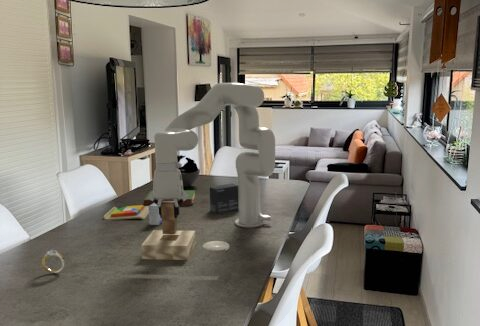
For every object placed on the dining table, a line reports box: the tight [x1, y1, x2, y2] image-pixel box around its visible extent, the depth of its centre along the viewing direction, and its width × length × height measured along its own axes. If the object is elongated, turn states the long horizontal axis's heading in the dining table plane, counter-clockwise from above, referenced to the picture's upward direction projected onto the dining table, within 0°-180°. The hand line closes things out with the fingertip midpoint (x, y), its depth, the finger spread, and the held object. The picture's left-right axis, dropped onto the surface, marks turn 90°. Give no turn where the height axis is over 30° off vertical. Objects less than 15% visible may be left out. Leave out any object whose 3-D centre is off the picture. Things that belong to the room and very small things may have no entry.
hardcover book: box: [143, 189, 196, 207], centre depth 234 cm, size 25×19×4 cm
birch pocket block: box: [140, 229, 197, 261], centre depth 161 cm, size 16×16×6 cm
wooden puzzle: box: [103, 204, 149, 221], centre depth 211 cm, size 18×19×4 cm
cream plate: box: [202, 240, 230, 252], centre depth 166 cm, size 10×10×1 cm
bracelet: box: [41, 249, 66, 274], centre depth 145 cm, size 7×3×8 cm, turn 86°
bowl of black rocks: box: [177, 154, 201, 188], centre depth 264 cm, size 20×20×19 cm
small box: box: [209, 183, 239, 214], centre depth 216 cm, size 13×7×12 cm, turn 123°
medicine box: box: [148, 203, 162, 226], centre depth 197 cm, size 8×4×9 cm, turn 168°
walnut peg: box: [161, 201, 178, 234], centre depth 160 cm, size 4×4×11 cm
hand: (169, 216), depth 160 cm, fingers closed on walnut peg, 4 cm apart
